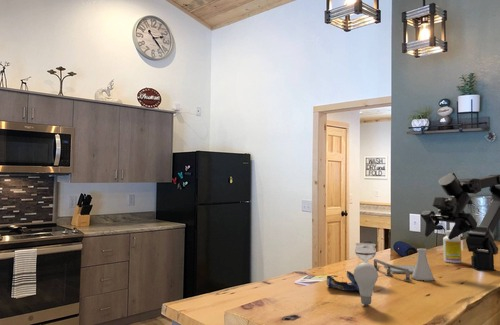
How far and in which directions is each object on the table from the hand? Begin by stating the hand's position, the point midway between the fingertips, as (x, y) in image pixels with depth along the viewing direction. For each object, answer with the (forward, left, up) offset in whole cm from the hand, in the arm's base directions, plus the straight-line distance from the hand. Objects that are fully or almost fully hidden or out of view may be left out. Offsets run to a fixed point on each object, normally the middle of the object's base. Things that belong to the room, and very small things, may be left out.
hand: (437, 237), depth 137 cm
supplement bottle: (-13, -31, -14) cm, 36 cm away
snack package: (+31, +25, -14) cm, 43 cm away
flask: (+6, +5, -14) cm, 16 cm away
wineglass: (+25, +13, -14) cm, 31 cm away
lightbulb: (+27, +41, -14) cm, 51 cm away
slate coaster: (+10, -8, -13) cm, 19 cm away
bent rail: (+16, +1, -13) cm, 21 cm away
